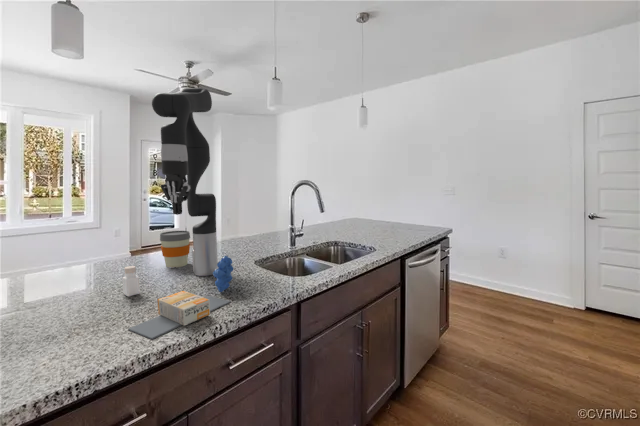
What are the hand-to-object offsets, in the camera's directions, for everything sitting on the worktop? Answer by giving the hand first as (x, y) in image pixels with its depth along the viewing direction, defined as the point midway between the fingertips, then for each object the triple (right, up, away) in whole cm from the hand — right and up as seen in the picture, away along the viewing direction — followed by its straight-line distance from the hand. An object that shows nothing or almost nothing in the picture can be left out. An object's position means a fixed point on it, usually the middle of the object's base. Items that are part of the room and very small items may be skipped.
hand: (177, 214), depth 98 cm
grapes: (+11, -27, +10) cm, 31 cm away
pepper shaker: (-18, -28, +6) cm, 34 cm away
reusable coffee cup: (-20, -24, +42) cm, 52 cm away
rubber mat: (+7, -29, -10) cm, 32 cm away
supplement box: (+1, -26, -8) cm, 27 cm away
